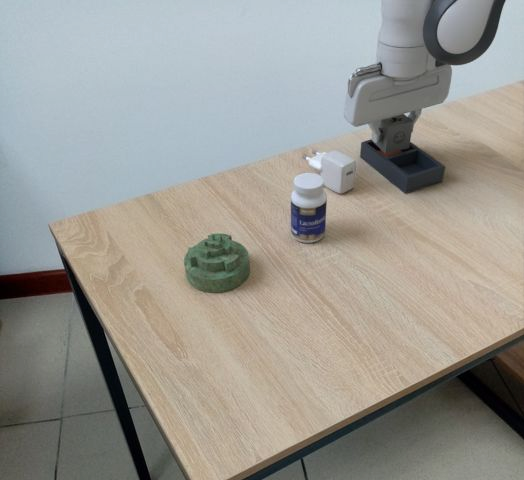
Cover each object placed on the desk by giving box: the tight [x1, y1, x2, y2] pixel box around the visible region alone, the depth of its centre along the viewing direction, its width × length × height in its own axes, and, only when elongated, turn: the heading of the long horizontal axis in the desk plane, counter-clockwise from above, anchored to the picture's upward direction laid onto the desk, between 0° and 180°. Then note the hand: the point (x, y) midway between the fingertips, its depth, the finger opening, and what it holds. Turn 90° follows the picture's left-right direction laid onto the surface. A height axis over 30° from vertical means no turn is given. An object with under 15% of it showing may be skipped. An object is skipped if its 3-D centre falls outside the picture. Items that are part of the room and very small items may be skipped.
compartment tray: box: [359, 138, 446, 194], centre depth 100 cm, size 8×15×3 cm, turn 25°
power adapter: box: [301, 149, 357, 195], centre depth 97 cm, size 11×5×6 cm, turn 38°
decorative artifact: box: [183, 232, 251, 294], centre depth 81 cm, size 10×7×10 cm
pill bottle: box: [290, 172, 328, 244], centre depth 85 cm, size 6×6×10 cm
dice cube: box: [374, 114, 413, 153], centre depth 99 cm, size 5×5×5 cm
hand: (392, 136), depth 100 cm, fingers closed on dice cube, 5 cm apart
